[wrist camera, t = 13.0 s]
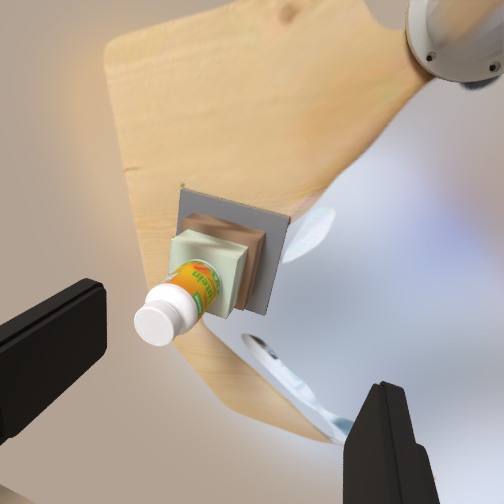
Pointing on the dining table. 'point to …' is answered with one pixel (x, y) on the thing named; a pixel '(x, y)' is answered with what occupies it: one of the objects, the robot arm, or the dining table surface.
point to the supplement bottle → (177, 302)
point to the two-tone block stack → (221, 256)
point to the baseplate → (248, 217)
